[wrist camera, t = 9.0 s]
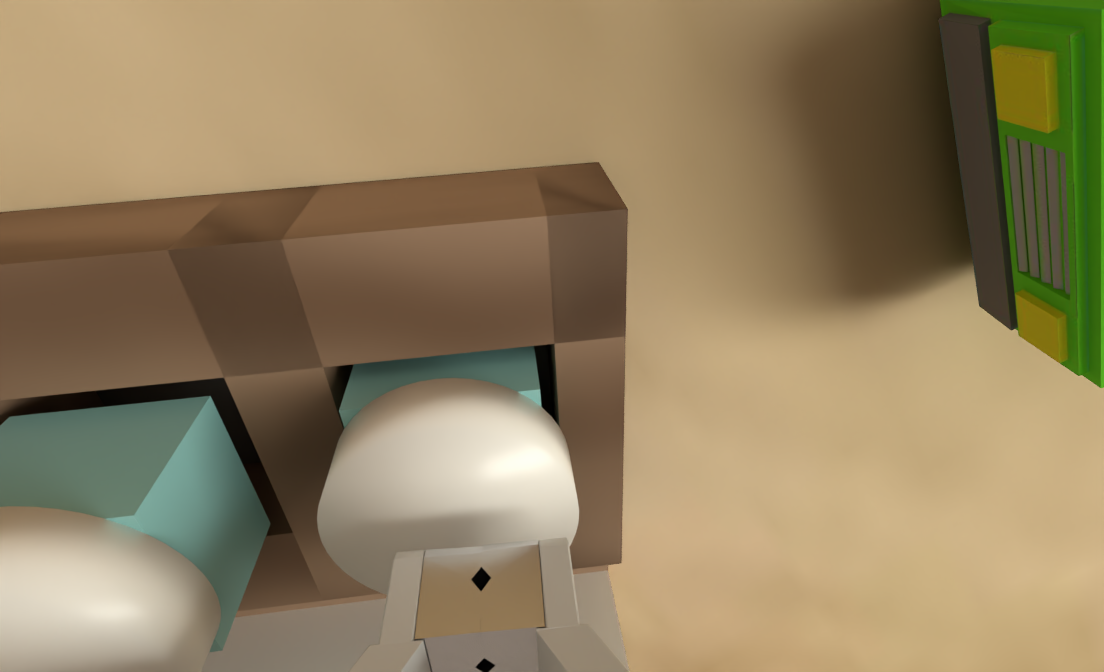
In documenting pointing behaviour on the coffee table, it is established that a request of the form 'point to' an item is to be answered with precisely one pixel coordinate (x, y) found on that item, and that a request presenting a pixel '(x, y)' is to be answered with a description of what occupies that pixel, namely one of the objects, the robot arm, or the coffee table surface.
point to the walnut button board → (326, 324)
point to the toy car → (1033, 166)
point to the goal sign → (365, 630)
